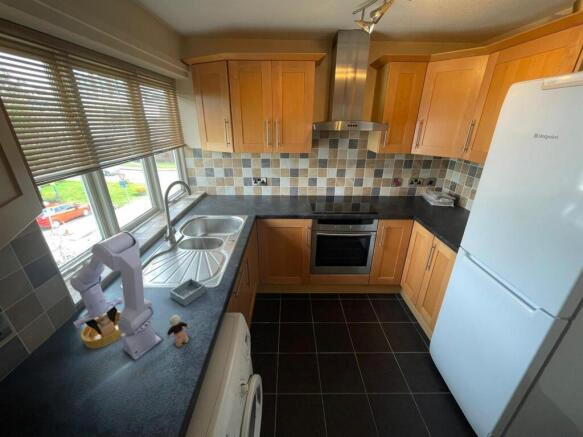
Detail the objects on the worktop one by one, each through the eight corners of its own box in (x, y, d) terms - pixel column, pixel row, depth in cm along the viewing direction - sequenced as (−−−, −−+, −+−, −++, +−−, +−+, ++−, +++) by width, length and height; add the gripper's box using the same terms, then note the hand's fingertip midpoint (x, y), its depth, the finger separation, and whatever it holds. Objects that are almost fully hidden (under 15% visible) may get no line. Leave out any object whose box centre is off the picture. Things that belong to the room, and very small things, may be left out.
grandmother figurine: (188, 333, 91) (181, 307, 86) (193, 338, 88) (187, 312, 84) (168, 347, 85) (160, 320, 80) (173, 353, 83) (165, 326, 78)
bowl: (94, 356, 82) (90, 348, 81) (78, 337, 89) (74, 330, 88) (137, 327, 93) (134, 320, 92) (119, 313, 100) (116, 306, 99)
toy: (104, 338, 88) (97, 322, 85) (99, 332, 91) (92, 317, 88) (116, 330, 91) (110, 315, 88) (110, 325, 94) (104, 310, 91)
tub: (185, 306, 104) (183, 299, 102) (171, 297, 109) (169, 290, 107) (205, 291, 113) (204, 284, 111) (192, 284, 118) (190, 277, 116)
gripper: (112, 285, 93) (122, 312, 98) (64, 309, 81) (79, 337, 87) (121, 292, 89) (130, 319, 95) (73, 317, 78) (87, 346, 83)
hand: (106, 328), depth 90 cm, fingers closed on toy, 4 cm apart
